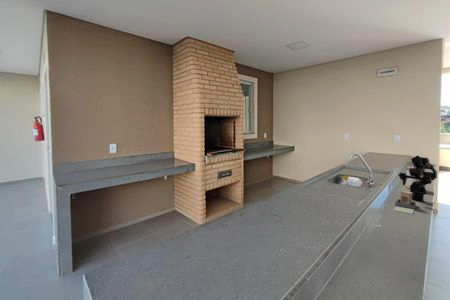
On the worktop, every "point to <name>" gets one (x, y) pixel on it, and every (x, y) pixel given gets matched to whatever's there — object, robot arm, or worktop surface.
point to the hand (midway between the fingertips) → (410, 186)
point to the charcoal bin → (412, 206)
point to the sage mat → (404, 210)
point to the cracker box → (409, 180)
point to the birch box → (406, 198)
